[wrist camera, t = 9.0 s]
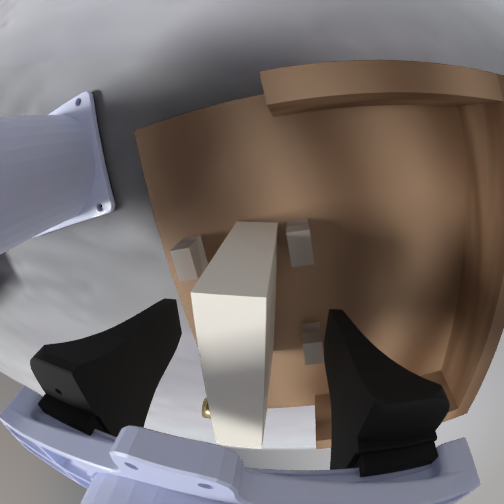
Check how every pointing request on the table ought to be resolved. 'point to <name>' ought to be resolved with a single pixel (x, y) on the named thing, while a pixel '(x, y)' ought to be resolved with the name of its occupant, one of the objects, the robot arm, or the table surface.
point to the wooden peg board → (350, 213)
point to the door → (238, 332)
